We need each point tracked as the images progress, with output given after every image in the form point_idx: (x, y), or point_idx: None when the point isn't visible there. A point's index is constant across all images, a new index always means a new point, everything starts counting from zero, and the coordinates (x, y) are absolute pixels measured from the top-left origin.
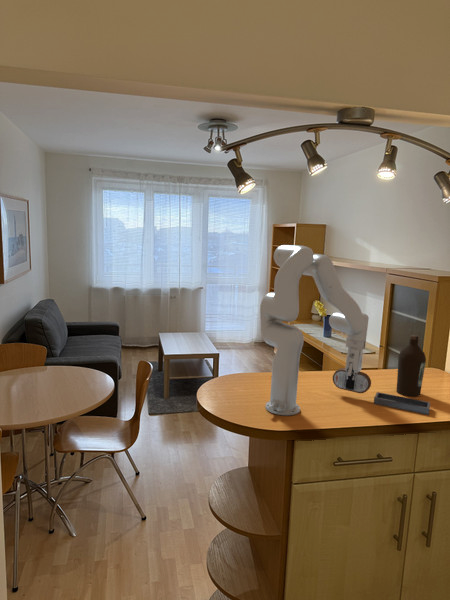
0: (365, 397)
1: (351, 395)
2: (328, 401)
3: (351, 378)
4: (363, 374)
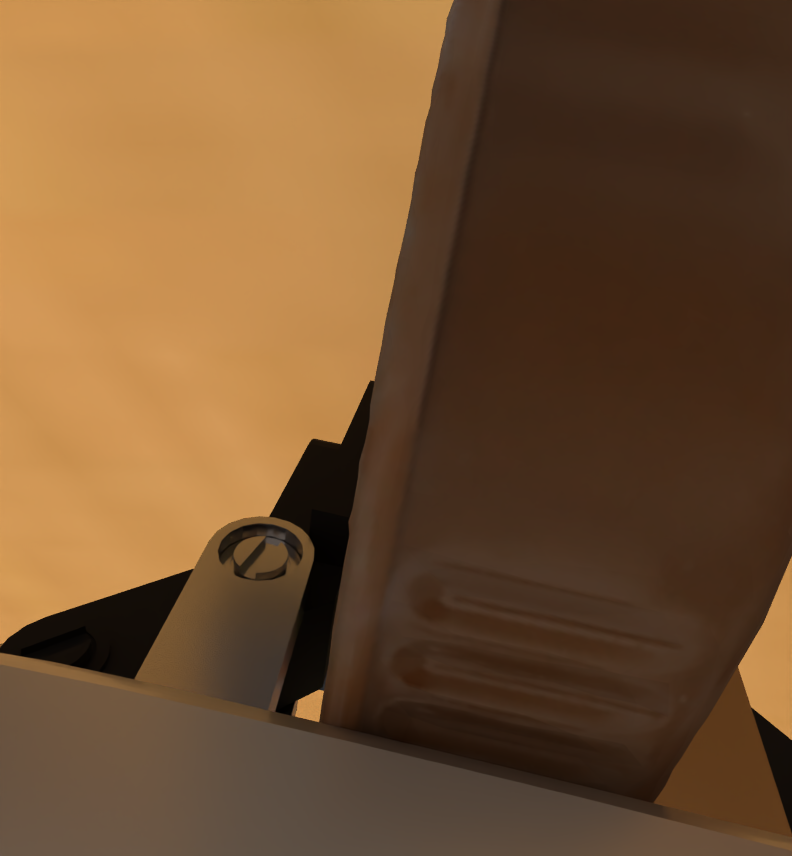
0: (363, 89)
1: (379, 353)
2: (781, 640)
3: (769, 746)
4: (753, 513)
